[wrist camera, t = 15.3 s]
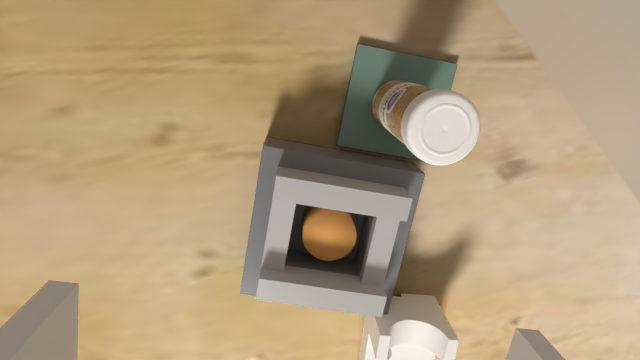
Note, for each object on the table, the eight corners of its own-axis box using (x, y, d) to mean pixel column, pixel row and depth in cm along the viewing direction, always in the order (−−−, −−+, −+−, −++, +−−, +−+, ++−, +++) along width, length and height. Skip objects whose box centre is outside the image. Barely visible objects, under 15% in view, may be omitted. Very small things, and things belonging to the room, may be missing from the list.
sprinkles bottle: (381, 72, 38) (425, 80, 25) (428, 89, 38) (495, 105, 25) (363, 121, 39) (396, 153, 26) (409, 137, 39) (464, 176, 26)
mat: (336, 143, 40) (337, 145, 39) (357, 44, 37) (358, 44, 37) (429, 160, 41) (431, 162, 40) (455, 64, 38) (457, 64, 38)
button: (298, 242, 41) (298, 256, 38) (307, 195, 40) (307, 206, 37) (346, 249, 42) (350, 264, 39) (357, 203, 40) (361, 215, 38)
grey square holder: (245, 272, 43) (235, 312, 36) (266, 136, 39) (259, 153, 33) (380, 292, 44) (394, 334, 38) (413, 162, 41) (435, 184, 34)
